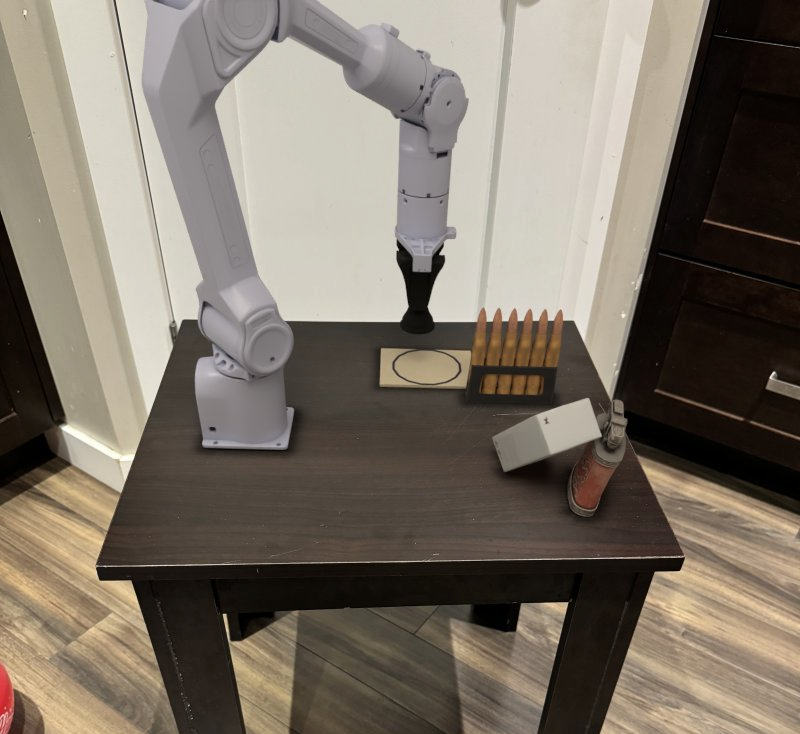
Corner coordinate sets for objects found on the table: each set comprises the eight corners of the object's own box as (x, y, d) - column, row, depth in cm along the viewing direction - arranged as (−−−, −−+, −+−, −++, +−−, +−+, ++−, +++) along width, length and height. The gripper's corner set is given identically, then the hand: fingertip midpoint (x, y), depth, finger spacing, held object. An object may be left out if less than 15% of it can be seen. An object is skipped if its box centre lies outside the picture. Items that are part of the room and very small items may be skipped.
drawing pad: (379, 386, 96) (379, 383, 96) (380, 350, 103) (381, 347, 102) (475, 389, 96) (475, 386, 96) (470, 353, 103) (470, 350, 103)
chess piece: (392, 323, 96) (395, 244, 90) (421, 315, 98) (425, 237, 92) (412, 337, 94) (416, 256, 87) (441, 329, 95) (447, 249, 89)
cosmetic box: (503, 474, 84) (549, 456, 72) (490, 437, 84) (534, 413, 72) (551, 457, 85) (604, 436, 74) (538, 420, 85) (589, 395, 74)
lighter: (597, 520, 79) (637, 445, 72) (565, 511, 79) (602, 435, 72) (598, 472, 84) (635, 398, 77) (569, 463, 84) (603, 389, 77)
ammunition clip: (550, 395, 96) (567, 306, 88) (552, 404, 94) (570, 313, 86) (464, 394, 95) (474, 303, 87) (466, 402, 94) (475, 311, 86)
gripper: (463, 214, 80) (453, 333, 89) (456, 168, 90) (447, 279, 99) (395, 212, 79) (392, 332, 89) (396, 166, 90) (393, 277, 99)
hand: (417, 304), depth 94 cm, fingers closed on chess piece, 2 cm apart
